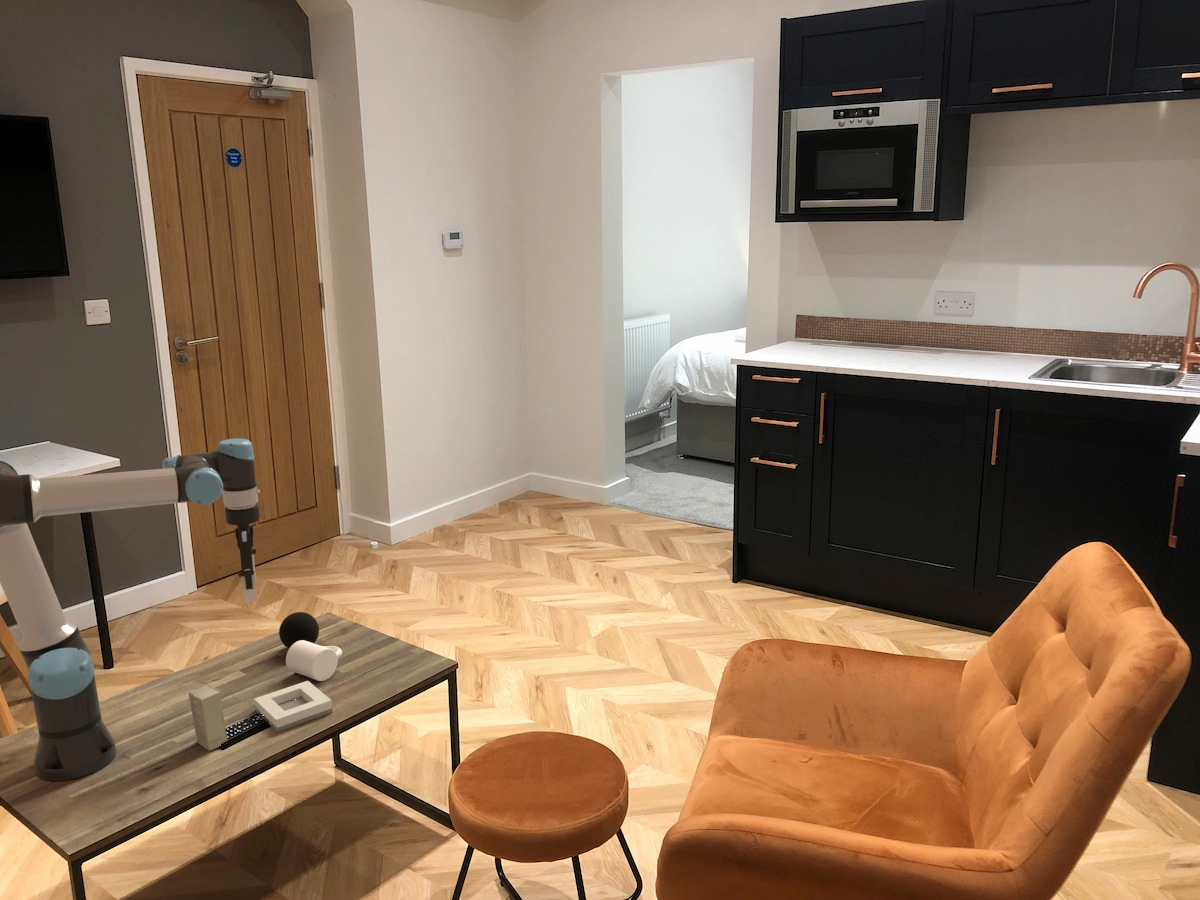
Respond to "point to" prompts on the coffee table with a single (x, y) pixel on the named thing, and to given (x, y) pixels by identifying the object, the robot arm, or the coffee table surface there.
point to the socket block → (293, 705)
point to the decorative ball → (298, 629)
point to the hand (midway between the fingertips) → (250, 591)
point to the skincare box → (208, 717)
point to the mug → (313, 659)
